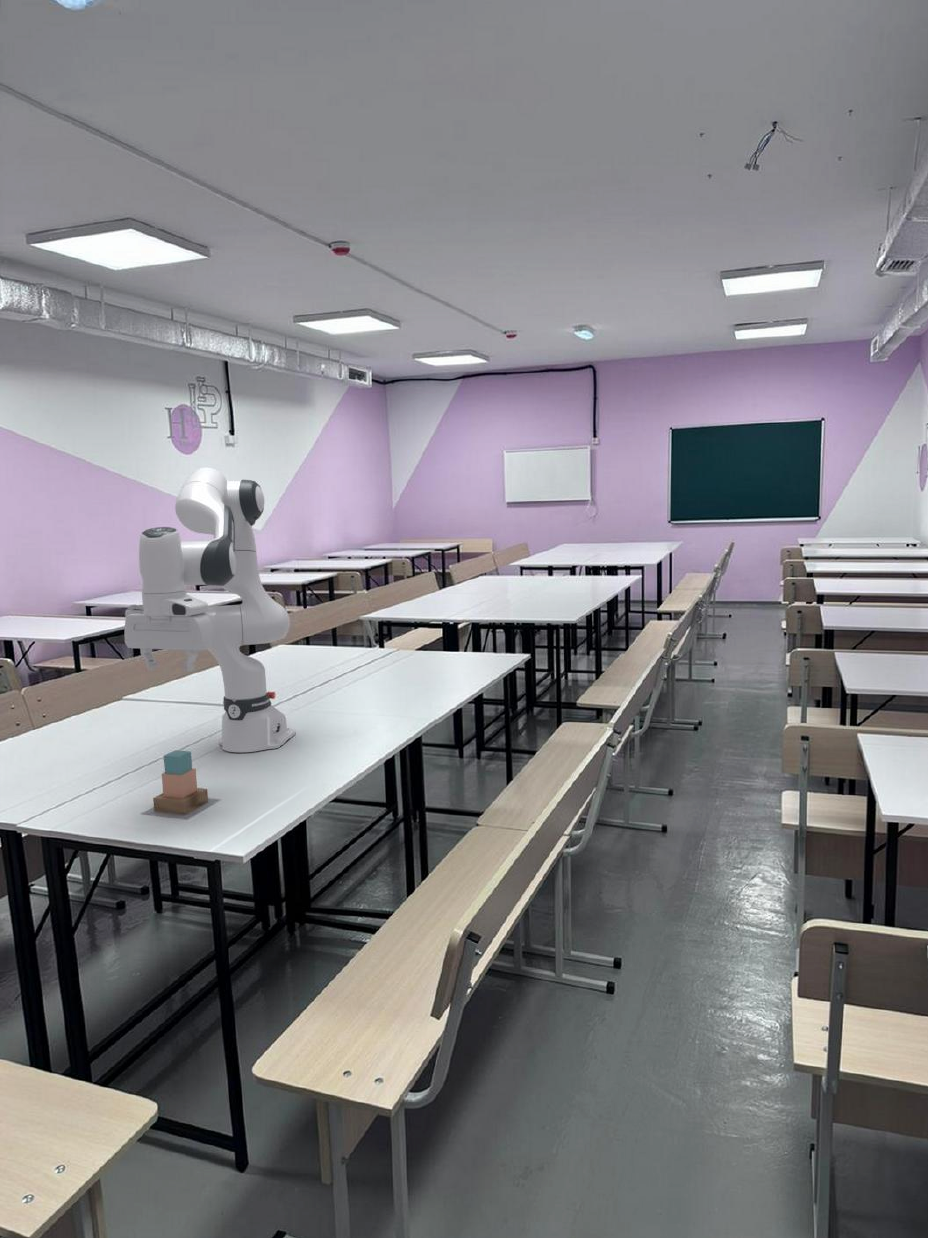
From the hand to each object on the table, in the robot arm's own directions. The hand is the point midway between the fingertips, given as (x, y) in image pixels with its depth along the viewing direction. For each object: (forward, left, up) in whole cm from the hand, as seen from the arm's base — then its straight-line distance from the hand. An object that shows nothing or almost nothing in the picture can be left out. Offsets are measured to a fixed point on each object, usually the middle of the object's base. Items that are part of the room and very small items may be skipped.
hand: (170, 669), depth 179 cm
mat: (0, 0, -31) cm, 31 cm away
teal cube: (0, 0, -22) cm, 22 cm away
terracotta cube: (0, 0, -28) cm, 28 cm away
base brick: (0, 0, -30) cm, 31 cm away
